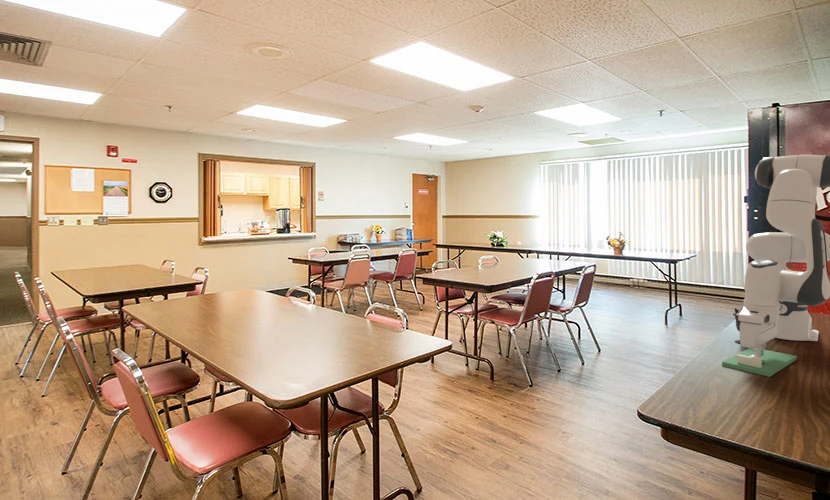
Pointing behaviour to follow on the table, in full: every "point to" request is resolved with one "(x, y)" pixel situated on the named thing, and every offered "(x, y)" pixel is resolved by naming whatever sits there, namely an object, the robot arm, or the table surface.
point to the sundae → (737, 321)
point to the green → (760, 362)
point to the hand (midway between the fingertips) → (758, 356)
